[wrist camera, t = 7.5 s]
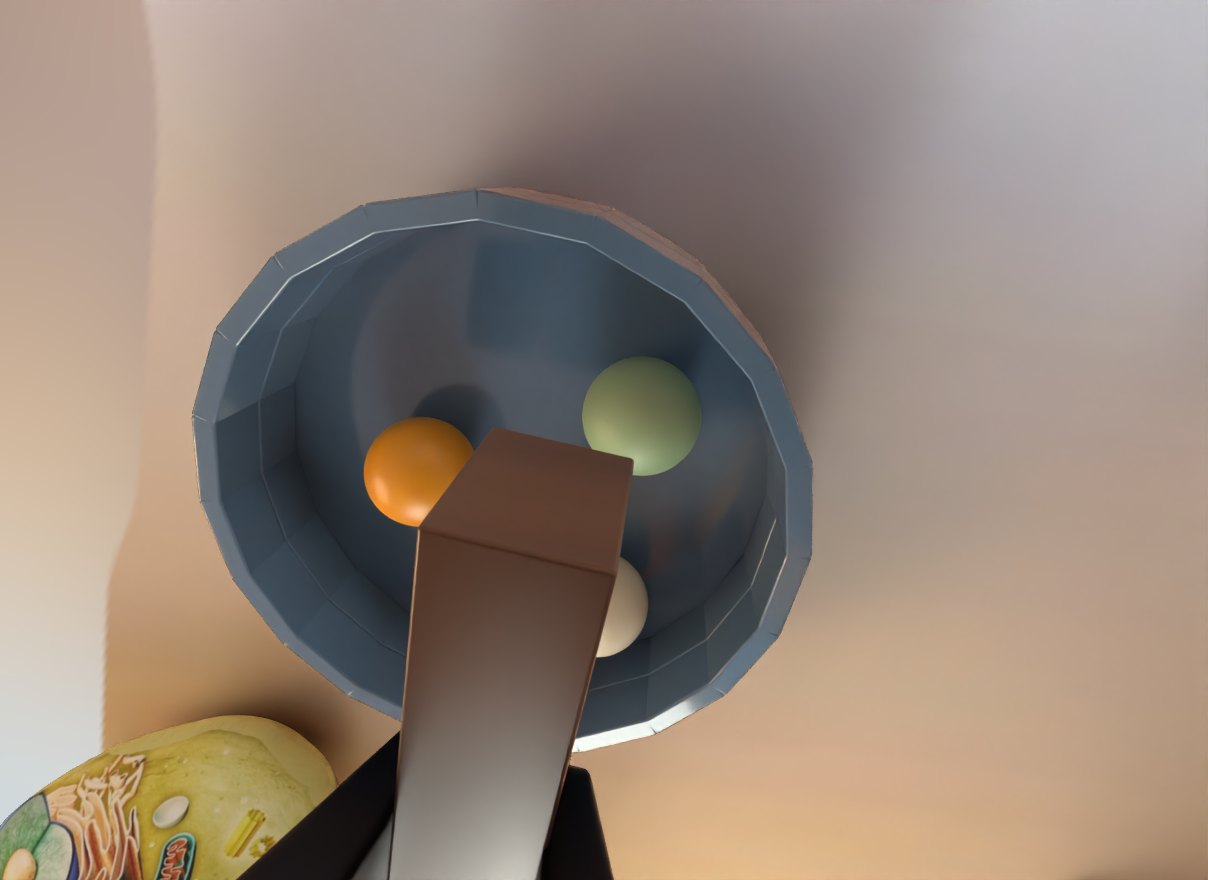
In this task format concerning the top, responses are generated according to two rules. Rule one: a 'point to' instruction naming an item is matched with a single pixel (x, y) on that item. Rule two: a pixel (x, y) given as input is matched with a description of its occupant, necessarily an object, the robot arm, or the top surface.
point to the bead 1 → (414, 467)
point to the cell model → (170, 805)
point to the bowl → (505, 400)
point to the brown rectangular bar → (502, 653)
